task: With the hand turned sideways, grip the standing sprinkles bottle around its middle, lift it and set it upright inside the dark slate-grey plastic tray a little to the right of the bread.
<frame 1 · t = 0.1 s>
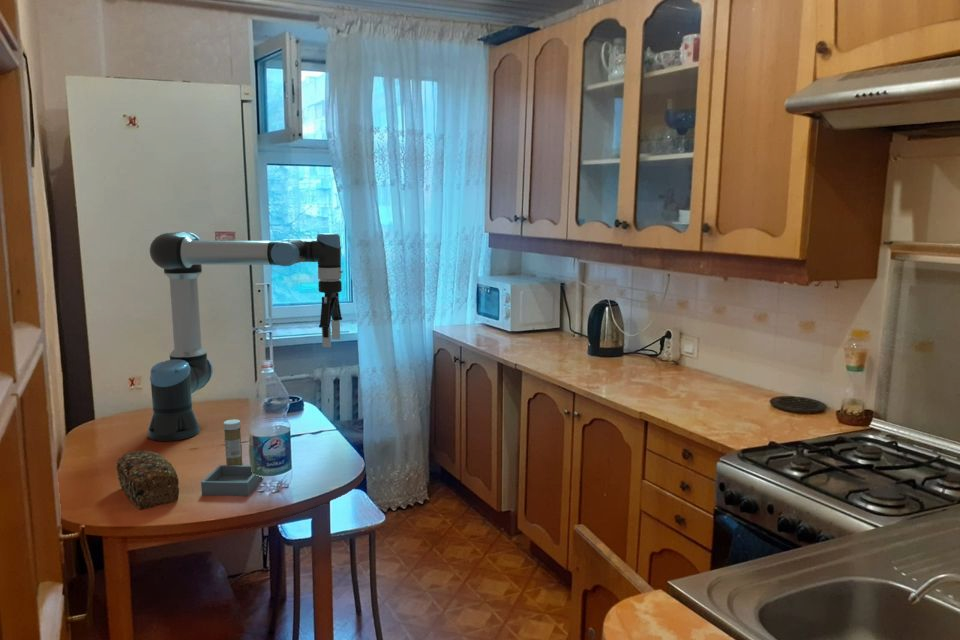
hand: (331, 343, 235), 28 cm above the table, tool pointing down, fingers open, 13 cm apart
tray: (233, 486, 186), on the table
bread: (149, 495, 180), on the table
sprinkles bottle: (234, 467, 200), on the table
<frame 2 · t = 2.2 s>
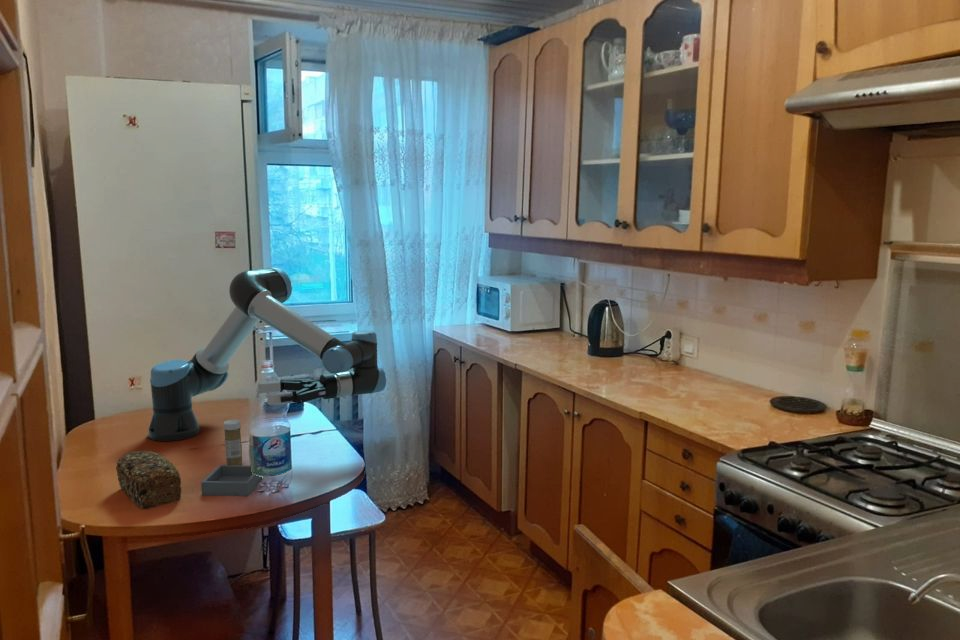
hand: (262, 394, 201), 20 cm above the table, tool horizontal, fingers open, 13 cm apart
nothing on the table moved.
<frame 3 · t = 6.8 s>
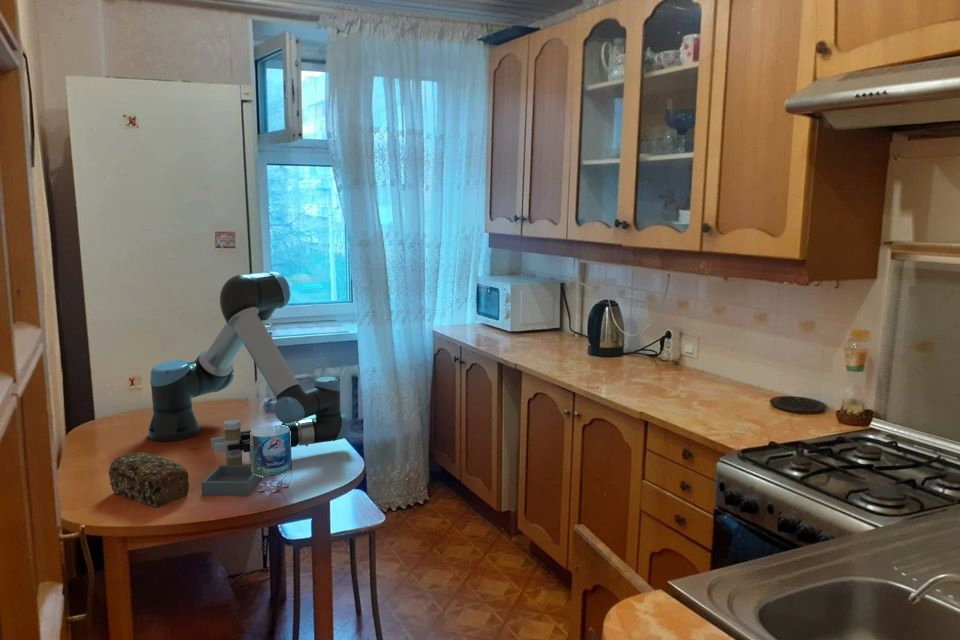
hand: (213, 446, 196), 7 cm above the table, tool horizontal, fingers closed on sprinkles bottle, 4 cm apart
sprinkles bottle: (234, 467, 200), on the table, touching gripper
when the fingers open (9 cm above the table, at t = 11.8 s): sprinkles bottle drops 1 cm, resting on tray.
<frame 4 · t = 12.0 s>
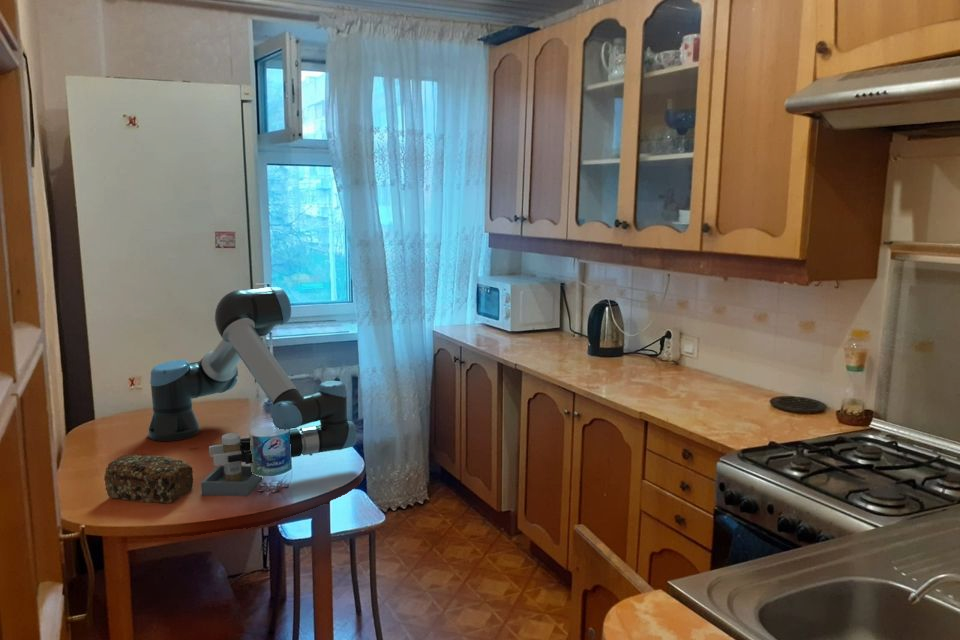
hand: (211, 455, 182), 9 cm above the table, tool horizontal, fingers open, 7 cm apart
sprinkles bottle: (233, 483, 185), point 1 cm above the table, touching tray
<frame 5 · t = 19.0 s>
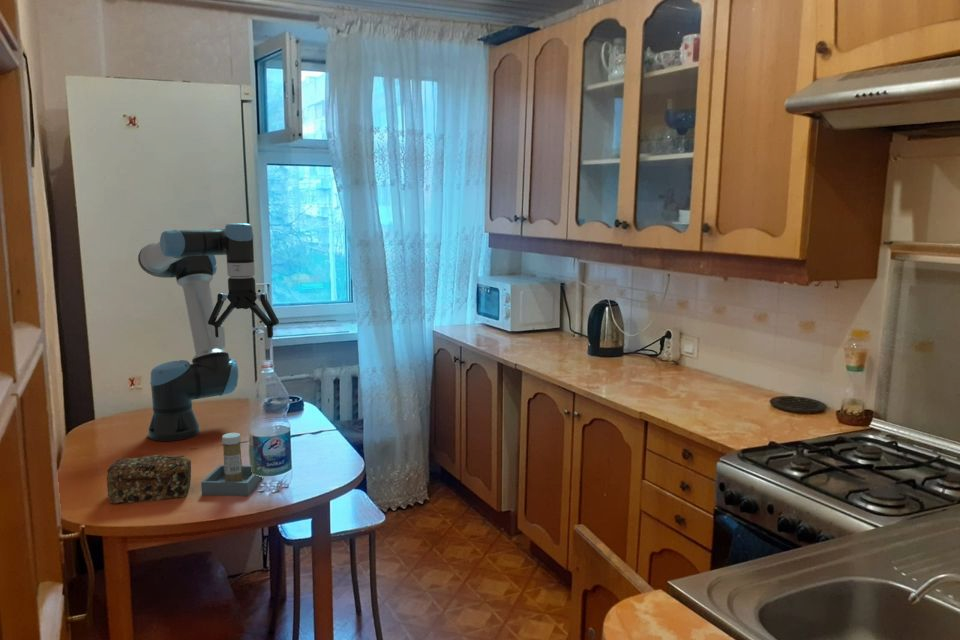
hand: (244, 348, 207), 32 cm above the table, tool pointing down, fingers open, 13 cm apart
at the end: sprinkles bottle inside the target area on the tray (0.1 cm from its centre), point 0.6 cm above the tray's base; sprinkles bottle tilted 0°; the gripper is holding nothing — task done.
